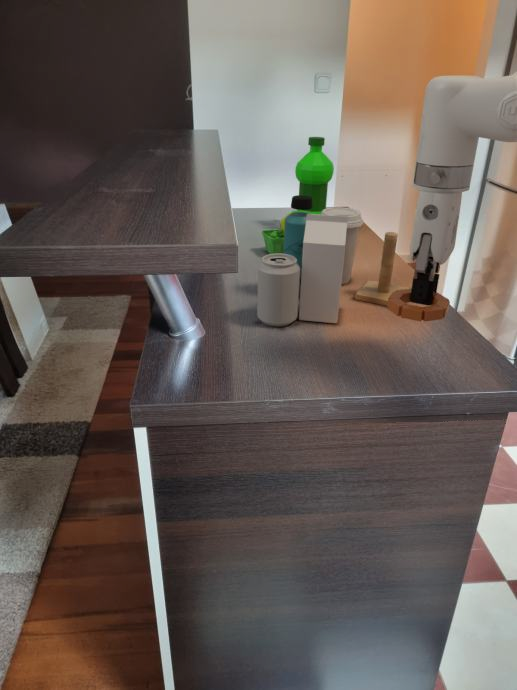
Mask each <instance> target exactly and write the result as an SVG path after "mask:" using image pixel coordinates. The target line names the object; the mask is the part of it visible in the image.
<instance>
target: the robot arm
mask: <svg viewBox="0 0 517 690" xmlns="http://www.w3.org/2000/svg"><path fill="white" fill-rule="evenodd" d="M425 87H426V88H425V92H424V98H423V105H422V112H421V113H422V114H421V121H420V130H419V137H418V143H417V150H416V152H417V153H416V158H415V164H414V165H415V166H414V174H413V180H412V188H413V189H416V190H418V196H417V202H416V206H415V212H414V213H415V214H414V218H413V225H412V232H411V238H410V245H409V246H410V247H409V258H410V260H411V261H413V262H414V261H415V265H414V272H413V277H412V284H411V288H412V289H411V288H410V289H411V296H410V301H411V302H410V303H412V304H419V305H422V306H423V305H424V306H431V304H432V300H433V294H434V292H435V293H438V286H439V280H440V274H439V273H440V269H441V265H444V264H445V263H446V262H447V261H448V259H449V258H450V256H451V255H452V253H453V252H454V250H455V247H456V241H457V233H458V227H459V221H460V213H461V208H462V207H461V206H462V198H463V197H462V196H463V193H464V192H468V191H470V186H471V183H472V177H473V173H474V167H475V160H476V155H477V150H478V144H479V138H482V139H486V140H492V141H497V142H503V143H517V71H515V72H514V73H513V74H511V75H504V76H497V77H486V78H484V77H481V76H478V75H439V76H435V77H433V78H431V79H430V81H428V83H427V84H426V86H425Z"/></svg>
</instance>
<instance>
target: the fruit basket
mask: <svg viewBox="0 0 517 690" xmlns="http://www.w3.org/2000/svg"><path fill="white" fill-rule="evenodd" d="M294 212H298V211H297V210H292V211H290V212H289V213H287V214H286V215H285V216H283V218H281V221H280V223H279V225H280V228H278V229H276V228H275V229H266V230H262V231H261V235H262V237H263V241H264V245H265V249H266V250H265V251H266V252H268V254H275V253H281V254H282V253H283V252H282V251H283V249H284V230H285V218H286V217H287V216H288V215H289V214H291V213H294Z"/></svg>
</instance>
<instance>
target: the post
mask: <svg viewBox="0 0 517 690" xmlns="http://www.w3.org/2000/svg"><path fill="white" fill-rule="evenodd" d="M398 236H399V234H398V233H397V232H393V231H387V232H385V233H384V240H383V246H382V247H383V248H382V254H381V261H380V262H381V263H380V268H379V276H378V281H376V280H371V279H369V280H367V281H366V283H365V284H364V285H363V286H362V287H361V288H360V289H359V290H358V291H357V292H356V293H355V294H354V300H357V301H362V302H366V303H371V304H375V305H380V306H384V307H385V306H386V307H387V305H388V298H389V296H390V295H391V294H392V293H393V291H395V292H396V290H403V289H411V287H407V286H402V285H398V284H391V283H392V277H393V269H394V263H395V256H396V250H397V243H398Z"/></svg>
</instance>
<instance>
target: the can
mask: <svg viewBox="0 0 517 690" xmlns="http://www.w3.org/2000/svg"><path fill="white" fill-rule="evenodd" d="M296 262H297V259H296V258H295V257H294V256H292V255H288V254H281V253H275V254H270V253H268V254H266V255H264V256H262V258H261V262H260V263H259V264H258V265H257V304H256V305H257V311H256V313H257V314H256V316H257V319H259V320H260V321H261V322H262V323H263V324H264V325H267V326H271V327H286V326H288V325H289V326H290V325H291V324H292V323H293V322H294V321H296V320H297V319H298V317H299V299H300V293H299V280H300V266H299V265H298V264H297V263H296Z"/></svg>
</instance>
